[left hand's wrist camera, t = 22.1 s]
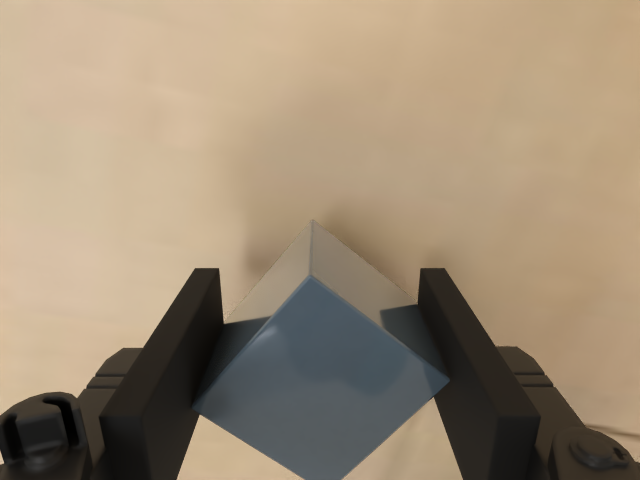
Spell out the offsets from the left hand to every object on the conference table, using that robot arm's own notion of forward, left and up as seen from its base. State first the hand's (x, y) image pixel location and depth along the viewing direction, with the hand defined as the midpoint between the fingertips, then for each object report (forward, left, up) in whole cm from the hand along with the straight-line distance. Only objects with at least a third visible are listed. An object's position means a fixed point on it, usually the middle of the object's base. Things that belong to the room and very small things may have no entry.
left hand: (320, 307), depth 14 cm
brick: (0, 0, 0) cm, 0 cm away
